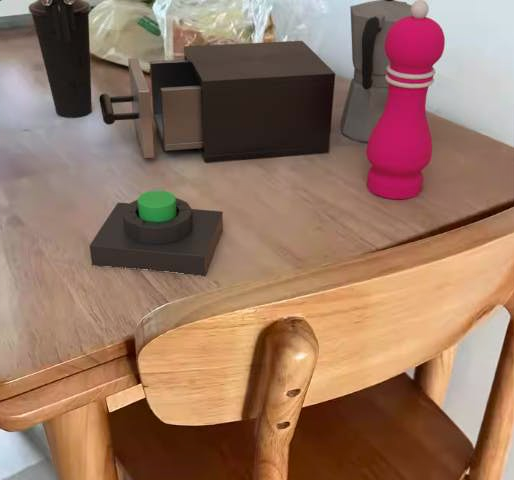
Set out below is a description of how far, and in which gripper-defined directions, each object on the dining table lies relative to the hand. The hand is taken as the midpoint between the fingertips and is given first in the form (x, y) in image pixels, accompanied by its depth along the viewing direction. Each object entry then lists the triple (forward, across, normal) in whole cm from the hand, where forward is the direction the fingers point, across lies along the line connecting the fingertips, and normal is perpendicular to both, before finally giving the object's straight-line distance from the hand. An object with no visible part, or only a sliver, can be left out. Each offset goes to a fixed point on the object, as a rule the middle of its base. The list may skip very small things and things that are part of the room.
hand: (64, 39), depth 83 cm
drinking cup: (+13, 0, -13) cm, 19 cm away
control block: (+13, -6, +26) cm, 30 cm away
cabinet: (+13, -22, 0) cm, 26 cm away
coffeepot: (+14, -38, +2) cm, 40 cm away
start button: (+10, -7, +26) cm, 28 cm away
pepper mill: (+14, -34, +18) cm, 41 cm away
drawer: (+12, -12, 0) cm, 17 cm away
